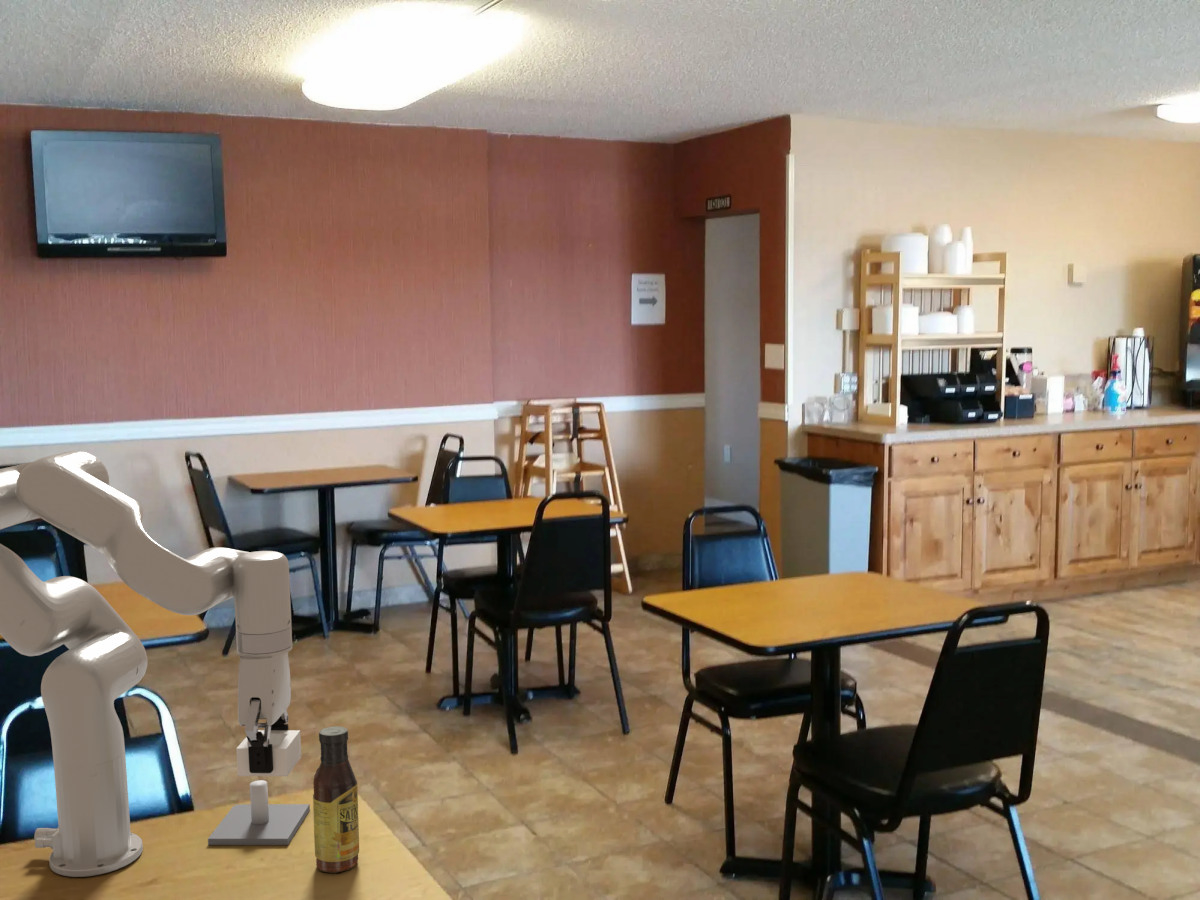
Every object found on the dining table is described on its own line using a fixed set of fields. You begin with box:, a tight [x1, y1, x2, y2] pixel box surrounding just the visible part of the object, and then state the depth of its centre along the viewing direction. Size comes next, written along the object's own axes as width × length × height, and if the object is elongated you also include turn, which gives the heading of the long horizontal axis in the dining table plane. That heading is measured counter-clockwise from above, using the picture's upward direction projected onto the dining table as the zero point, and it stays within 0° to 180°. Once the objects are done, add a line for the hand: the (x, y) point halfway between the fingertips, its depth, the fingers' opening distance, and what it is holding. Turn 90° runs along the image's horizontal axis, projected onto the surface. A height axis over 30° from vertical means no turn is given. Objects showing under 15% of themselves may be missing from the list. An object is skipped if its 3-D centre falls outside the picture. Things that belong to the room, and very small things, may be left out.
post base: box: [207, 779, 311, 846], centre depth 182 cm, size 12×12×7 cm
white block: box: [235, 729, 302, 777], centre depth 168 cm, size 7×7×4 cm
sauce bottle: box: [312, 725, 360, 874], centre depth 169 cm, size 7×6×20 cm
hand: (269, 760), depth 168 cm, fingers closed on white block, 7 cm apart
